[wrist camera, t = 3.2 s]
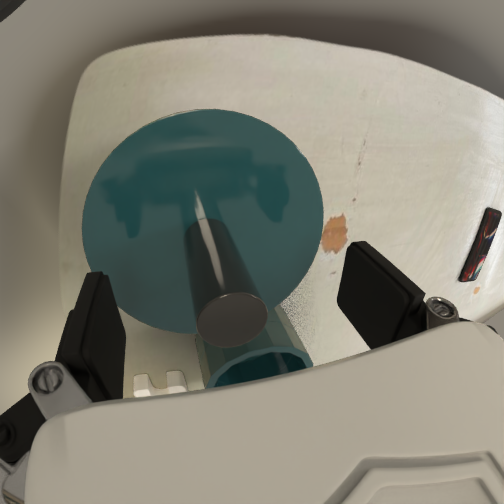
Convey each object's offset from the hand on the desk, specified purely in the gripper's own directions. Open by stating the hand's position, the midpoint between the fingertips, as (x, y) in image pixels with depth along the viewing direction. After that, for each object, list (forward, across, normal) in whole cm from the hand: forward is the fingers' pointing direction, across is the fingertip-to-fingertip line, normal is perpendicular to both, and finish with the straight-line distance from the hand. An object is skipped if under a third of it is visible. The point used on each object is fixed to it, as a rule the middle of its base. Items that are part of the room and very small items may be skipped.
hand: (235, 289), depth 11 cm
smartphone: (+17, -49, +12) cm, 54 cm away
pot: (+17, -4, +19) cm, 26 cm away
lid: (+5, 0, 0) cm, 5 cm away
